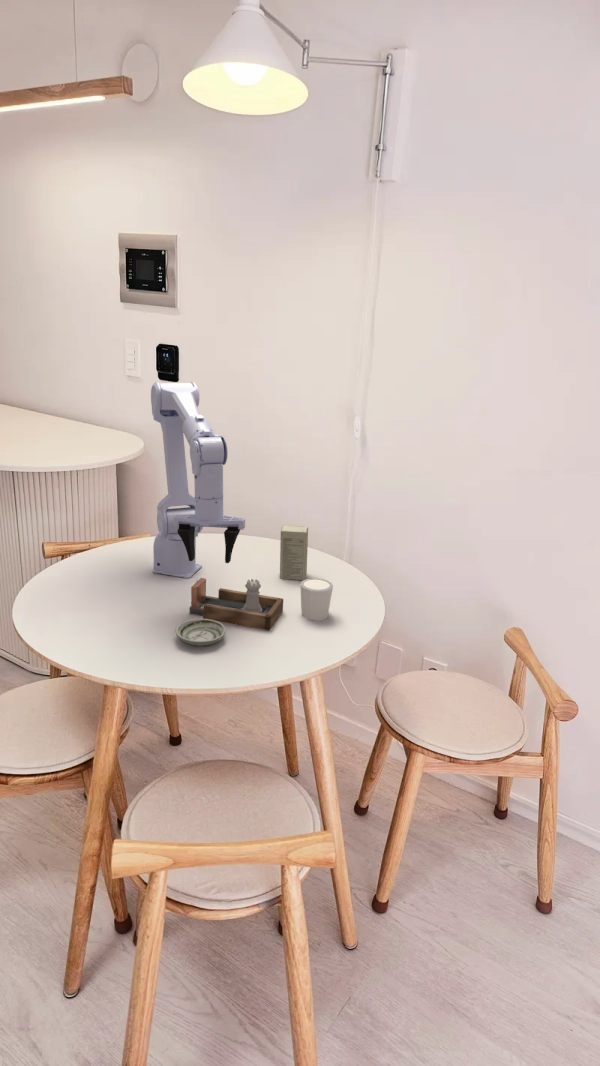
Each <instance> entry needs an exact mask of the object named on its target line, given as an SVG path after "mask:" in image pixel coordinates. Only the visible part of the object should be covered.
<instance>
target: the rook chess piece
mask: <svg viewBox="0 0 600 1066" xmlns="http://www.w3.org/2000/svg"><path fill="white" fill-rule="evenodd" d="M244 586H245V588H246V591H245V592H246V593H247V599H246V604H245V605H244V607H243V609H241V610H245V611H251V612H256V613H262V614H263V612H262V608H261V606H260V604H259V595H260V593H261V592H260V591H259V590H260V588H261V587H262V585H261V584H260V580H258V579H254V578H251V579H248V580H247V581H246V583H245V585H244Z"/></svg>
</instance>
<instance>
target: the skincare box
mask: <svg viewBox="0 0 600 1066" xmlns="http://www.w3.org/2000/svg"><path fill="white" fill-rule="evenodd" d="M308 542H309V526H304V525H303V526H299V525H282V527H281V529H280V543H279V545H280V550H279V579H282V580H296V581H303V580H305V579H307V574H308V573H307V572H308V545H309V543H308Z"/></svg>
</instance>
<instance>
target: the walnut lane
mask: <svg viewBox="0 0 600 1066" xmlns="http://www.w3.org/2000/svg"><path fill="white" fill-rule="evenodd" d="M217 596H218V597H217V598H223V599H229V600H234V601H240V602H246V599H247V593H246V591H239V590H233V589H228V588H222V587H221V588H219V589H218V595H217ZM259 604H260V605H264V606H270V607H272V608H271V609H270V611H269V612H268V613H267V614H263V612H262V613H256V612H251V611H245V610H242V609H240V608H234V607H228V606H223V605H217V604H211V603H205V604H204V605H203V606H202V608H203V615H202V617H203V618H202V619H210V620H215V621H217V622H220V623H223V624H224V623H225V624H230V625H236V626H241V627H248V628H253V629H259V630H264V631H270V630H272V627H274V624H276V622H277V620H278V619H279V618H280V617H281V615H282V614H283V611H284V598H282V597H281V598H280V597H277V596H276V597H275V596H271V595H270V596H269V595H263V594H259Z"/></svg>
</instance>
